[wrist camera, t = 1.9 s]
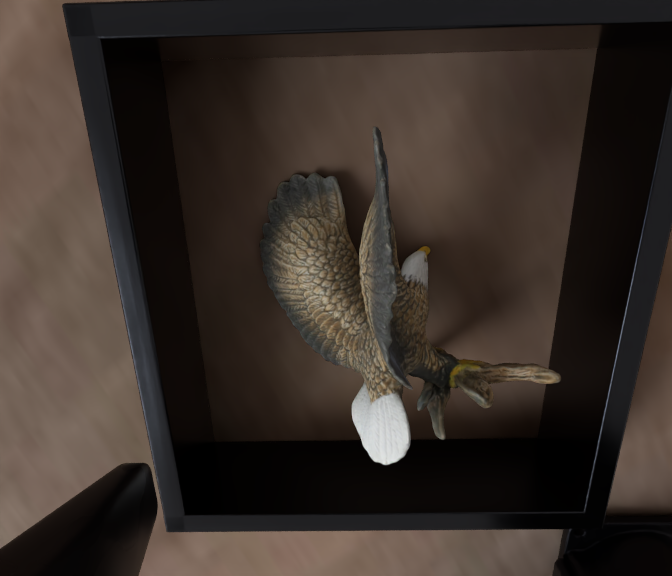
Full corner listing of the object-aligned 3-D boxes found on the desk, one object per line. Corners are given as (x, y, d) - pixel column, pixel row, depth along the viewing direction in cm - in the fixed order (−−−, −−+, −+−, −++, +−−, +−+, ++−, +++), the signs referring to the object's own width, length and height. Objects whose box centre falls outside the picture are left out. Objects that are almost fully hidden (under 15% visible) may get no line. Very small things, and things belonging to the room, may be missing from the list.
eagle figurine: (564, 282, 16) (413, 70, 12) (562, 484, 12) (327, 251, 8) (396, 328, 21) (254, 189, 17) (350, 479, 17) (149, 337, 13)
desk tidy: (626, 19, 14) (729, -20, 10) (553, 452, 20) (603, 529, 16) (133, 34, 14) (60, 2, 11) (198, 456, 20) (166, 533, 16)
